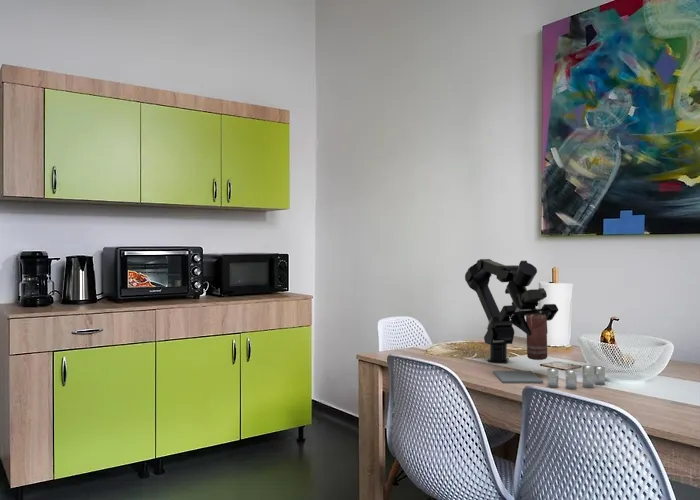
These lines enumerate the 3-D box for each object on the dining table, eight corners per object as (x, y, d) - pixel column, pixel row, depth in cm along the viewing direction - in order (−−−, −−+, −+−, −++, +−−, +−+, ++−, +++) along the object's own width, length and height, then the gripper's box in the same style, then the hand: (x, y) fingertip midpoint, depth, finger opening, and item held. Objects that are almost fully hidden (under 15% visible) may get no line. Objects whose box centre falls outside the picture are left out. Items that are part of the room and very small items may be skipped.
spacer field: (545, 385, 169) (545, 365, 169) (598, 378, 177) (598, 359, 177) (564, 391, 162) (564, 370, 162) (618, 384, 170) (618, 363, 170)
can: (524, 359, 181) (522, 314, 180) (530, 354, 186) (529, 311, 185) (543, 361, 177) (542, 316, 176) (550, 356, 182) (548, 312, 181)
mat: (493, 372, 186) (493, 370, 186) (530, 372, 186) (530, 370, 186) (502, 383, 172) (502, 381, 172) (543, 383, 172) (543, 381, 172)
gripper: (502, 280, 182) (520, 319, 172) (555, 279, 187) (576, 317, 176) (491, 302, 190) (507, 341, 180) (541, 300, 194) (560, 338, 184)
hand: (538, 334), depth 180 cm, fingers closed on can, 5 cm apart
